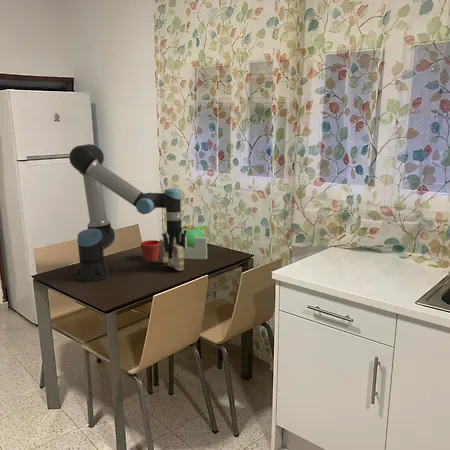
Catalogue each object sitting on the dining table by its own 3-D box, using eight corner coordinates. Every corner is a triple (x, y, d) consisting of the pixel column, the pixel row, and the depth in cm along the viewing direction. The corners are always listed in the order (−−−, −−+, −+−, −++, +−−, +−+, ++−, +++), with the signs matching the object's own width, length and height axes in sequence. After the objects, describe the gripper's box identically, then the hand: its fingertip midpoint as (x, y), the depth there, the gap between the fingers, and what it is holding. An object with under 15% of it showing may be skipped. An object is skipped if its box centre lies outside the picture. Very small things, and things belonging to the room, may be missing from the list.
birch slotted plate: (160, 261, 247) (159, 239, 245) (165, 260, 249) (164, 239, 246) (178, 270, 232) (178, 248, 229) (184, 269, 233) (183, 247, 231)
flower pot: (137, 259, 256) (136, 242, 254) (154, 255, 263) (153, 239, 261) (147, 263, 248) (146, 246, 246) (164, 259, 255) (163, 242, 253)
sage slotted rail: (167, 258, 257) (166, 237, 254) (169, 256, 260) (168, 236, 257) (206, 259, 253) (205, 238, 250) (207, 257, 256) (206, 237, 253)
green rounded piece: (169, 249, 274) (168, 225, 270) (187, 243, 287) (186, 220, 284) (192, 254, 263) (191, 229, 260) (210, 247, 277) (209, 223, 273)
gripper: (163, 222, 224) (165, 268, 229) (191, 218, 233) (192, 262, 238) (156, 220, 230) (158, 264, 235) (183, 216, 239) (185, 258, 244)
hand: (175, 263), depth 237 cm, fingers closed on birch slotted plate, 3 cm apart
